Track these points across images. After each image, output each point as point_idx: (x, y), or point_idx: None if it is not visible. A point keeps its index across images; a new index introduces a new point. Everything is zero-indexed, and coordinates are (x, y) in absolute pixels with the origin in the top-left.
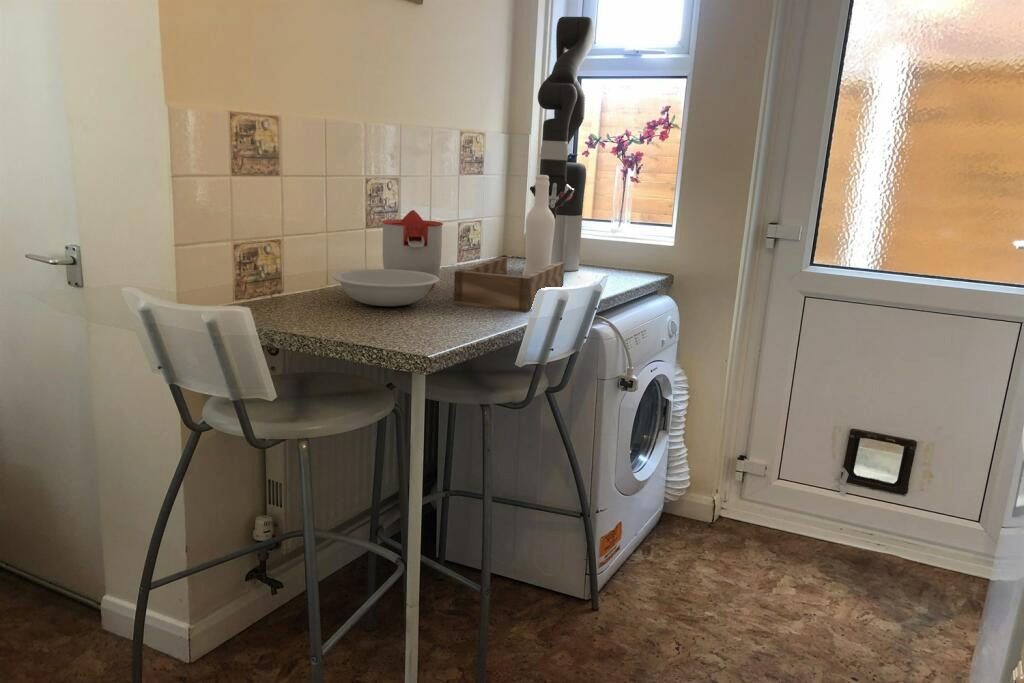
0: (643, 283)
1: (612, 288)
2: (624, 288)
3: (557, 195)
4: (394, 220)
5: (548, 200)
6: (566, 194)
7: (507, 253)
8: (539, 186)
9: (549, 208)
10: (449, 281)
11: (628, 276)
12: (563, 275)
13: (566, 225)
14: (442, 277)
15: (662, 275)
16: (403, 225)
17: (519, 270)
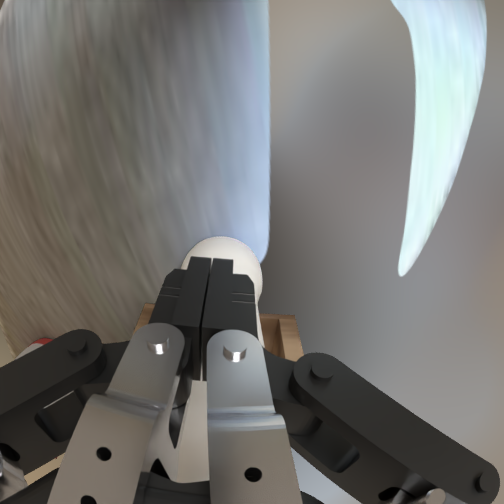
0: (470, 108)
1: (407, 215)
2: (431, 202)
3: (267, 472)
4: None
5: (173, 442)
6: (380, 496)
7: None
8: None
9: (196, 376)
10: (55, 295)
11: (433, 3)
12: (300, 343)
13: None
14: (23, 258)
15: None
16: (56, 458)
17: (109, 21)
